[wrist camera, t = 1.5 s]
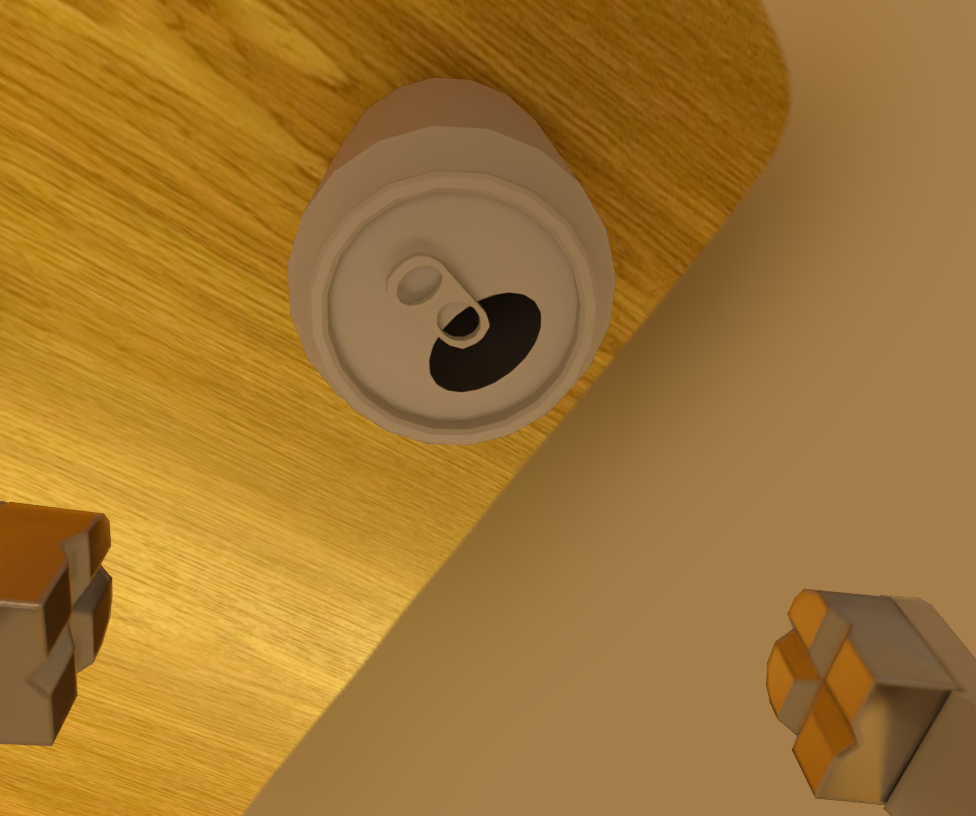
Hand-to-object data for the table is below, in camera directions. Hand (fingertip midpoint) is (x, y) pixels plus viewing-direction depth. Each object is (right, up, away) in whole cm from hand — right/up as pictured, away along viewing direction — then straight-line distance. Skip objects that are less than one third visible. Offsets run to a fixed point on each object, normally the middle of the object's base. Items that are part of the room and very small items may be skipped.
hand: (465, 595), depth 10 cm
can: (-1, +10, +18) cm, 21 cm away
